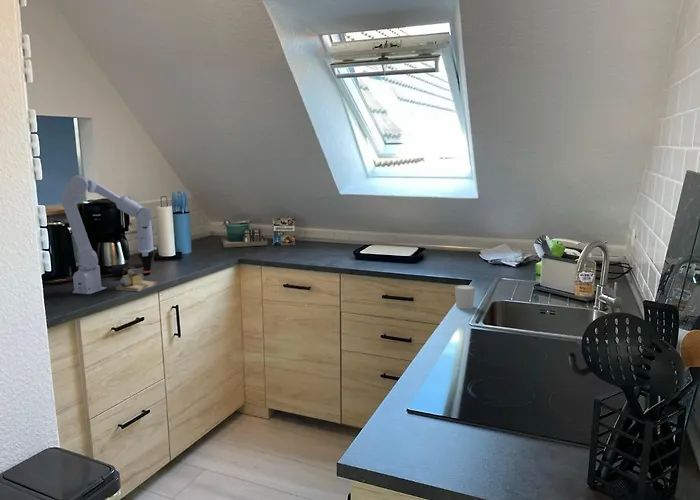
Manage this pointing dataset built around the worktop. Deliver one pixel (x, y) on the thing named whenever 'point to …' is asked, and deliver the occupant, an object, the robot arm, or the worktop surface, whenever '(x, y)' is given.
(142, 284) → the board
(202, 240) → the worktop surface
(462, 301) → the light grey cylinder
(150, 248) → the robot arm
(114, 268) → the pipe connector
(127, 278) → the valve body
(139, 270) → the lever
